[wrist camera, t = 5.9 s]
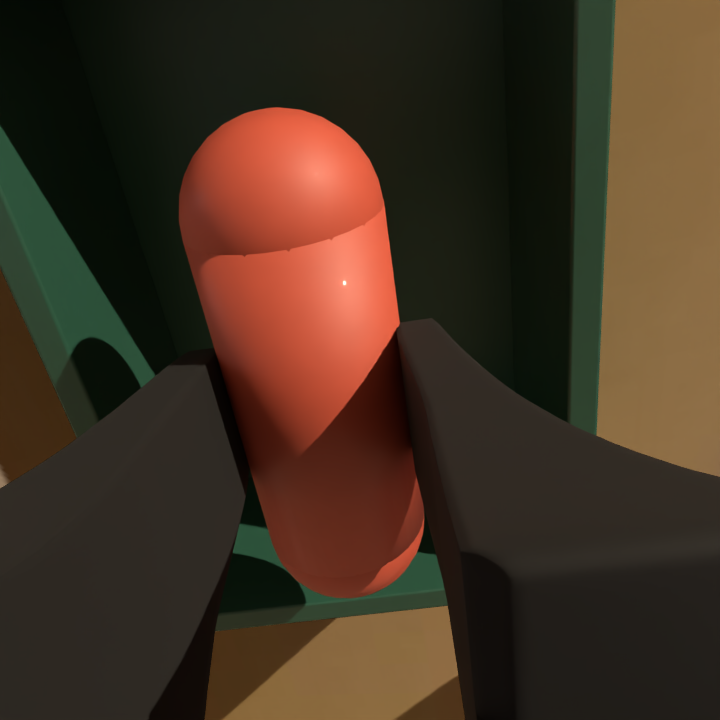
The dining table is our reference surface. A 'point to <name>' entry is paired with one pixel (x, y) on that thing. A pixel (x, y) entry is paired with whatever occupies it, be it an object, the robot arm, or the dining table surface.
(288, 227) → the red capsule pill
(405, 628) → the dining table surface
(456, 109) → the bin
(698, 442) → the dining table surface
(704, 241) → the dining table surface
